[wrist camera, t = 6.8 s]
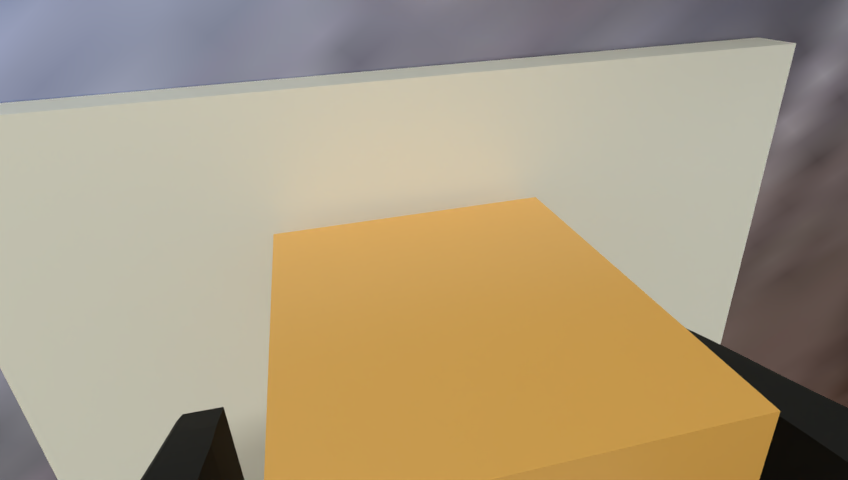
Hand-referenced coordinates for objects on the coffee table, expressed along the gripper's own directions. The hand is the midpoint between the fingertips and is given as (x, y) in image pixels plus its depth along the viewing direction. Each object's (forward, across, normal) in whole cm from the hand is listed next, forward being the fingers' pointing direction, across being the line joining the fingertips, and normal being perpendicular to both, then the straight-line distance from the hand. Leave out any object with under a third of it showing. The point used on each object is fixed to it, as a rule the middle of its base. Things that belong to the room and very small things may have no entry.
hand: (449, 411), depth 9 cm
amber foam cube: (+2, 0, 0) cm, 2 cm away
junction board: (+4, 0, +4) cm, 6 cm away
